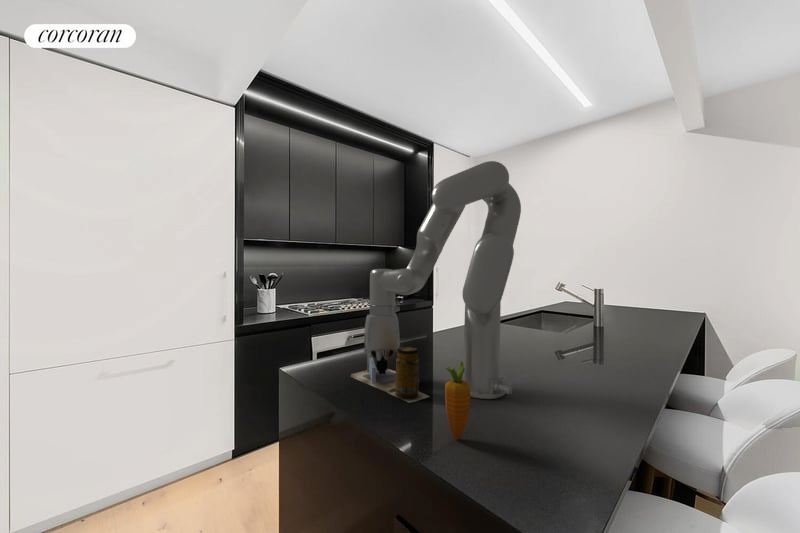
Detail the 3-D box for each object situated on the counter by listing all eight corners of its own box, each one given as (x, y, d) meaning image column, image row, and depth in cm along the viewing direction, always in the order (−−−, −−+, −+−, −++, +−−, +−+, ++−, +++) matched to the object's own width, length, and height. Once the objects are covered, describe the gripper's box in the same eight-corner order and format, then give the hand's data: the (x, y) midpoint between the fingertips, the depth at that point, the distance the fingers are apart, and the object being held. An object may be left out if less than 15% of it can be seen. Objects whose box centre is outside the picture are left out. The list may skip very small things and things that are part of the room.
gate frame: (419, 382, 97) (419, 361, 97) (388, 393, 88) (388, 370, 88) (380, 368, 109) (381, 350, 109) (350, 376, 101) (350, 357, 101)
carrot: (452, 448, 62) (454, 367, 62) (439, 435, 66) (440, 360, 66) (475, 443, 64) (476, 364, 64) (460, 431, 68) (461, 358, 68)
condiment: (408, 387, 93) (409, 344, 93) (429, 397, 86) (430, 350, 86) (387, 393, 88) (388, 348, 88) (408, 404, 82) (409, 355, 82)
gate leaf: (369, 371, 102) (369, 357, 102) (372, 371, 102) (372, 357, 102) (371, 383, 92) (372, 367, 92) (375, 383, 92) (375, 367, 92)
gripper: (403, 308, 104) (403, 367, 104) (355, 309, 100) (355, 370, 100) (410, 311, 97) (409, 375, 97) (358, 313, 93) (357, 378, 93)
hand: (381, 372), depth 99 cm, fingers closed
